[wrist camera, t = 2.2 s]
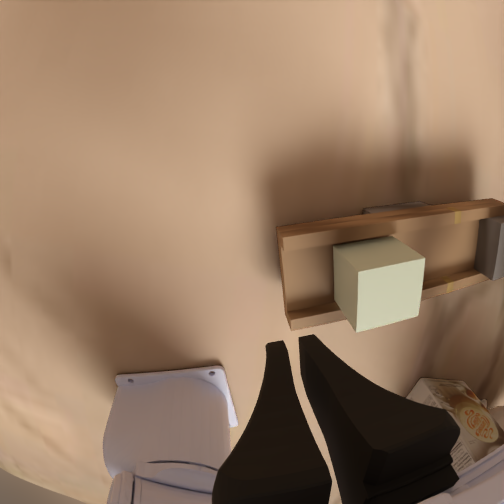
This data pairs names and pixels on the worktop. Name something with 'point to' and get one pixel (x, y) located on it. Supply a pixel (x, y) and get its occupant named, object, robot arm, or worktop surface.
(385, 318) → the block
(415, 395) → the coffee box
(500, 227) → the beam
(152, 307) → the worktop surface
